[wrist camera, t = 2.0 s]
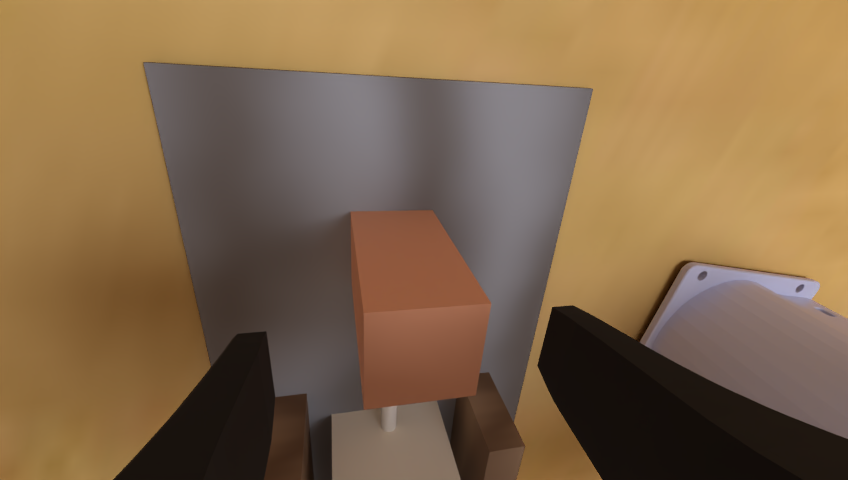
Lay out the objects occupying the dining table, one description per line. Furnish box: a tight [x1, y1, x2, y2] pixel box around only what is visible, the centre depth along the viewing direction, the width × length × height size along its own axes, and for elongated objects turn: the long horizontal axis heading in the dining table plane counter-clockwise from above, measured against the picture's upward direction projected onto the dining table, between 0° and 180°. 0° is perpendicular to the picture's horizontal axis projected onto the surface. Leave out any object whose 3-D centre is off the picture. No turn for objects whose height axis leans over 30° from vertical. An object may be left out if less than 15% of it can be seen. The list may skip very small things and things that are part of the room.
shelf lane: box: [143, 62, 593, 480], centre depth 15 cm, size 14×25×6 cm, turn 176°
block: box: [332, 210, 491, 480], centre depth 15 cm, size 5×15×6 cm, turn 176°
